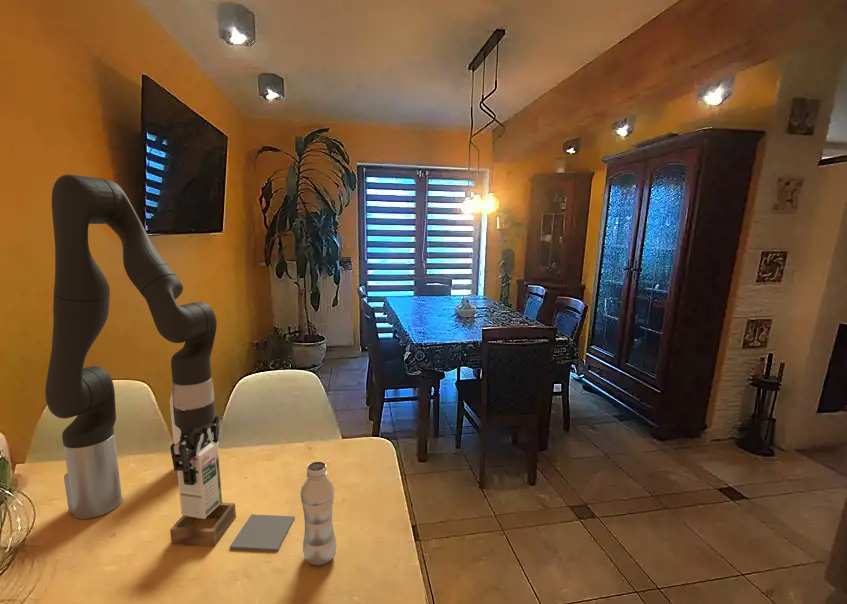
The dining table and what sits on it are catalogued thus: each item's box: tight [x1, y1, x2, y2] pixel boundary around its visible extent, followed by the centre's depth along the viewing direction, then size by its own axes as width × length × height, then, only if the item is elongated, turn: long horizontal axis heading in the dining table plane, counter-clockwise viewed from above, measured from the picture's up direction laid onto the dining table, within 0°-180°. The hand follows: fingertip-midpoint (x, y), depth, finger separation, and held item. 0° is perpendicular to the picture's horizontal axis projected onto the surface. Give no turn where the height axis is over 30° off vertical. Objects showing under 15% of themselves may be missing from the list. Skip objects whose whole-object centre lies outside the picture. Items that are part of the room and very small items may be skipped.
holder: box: [169, 502, 237, 548], centre depth 94 cm, size 9×9×4 cm
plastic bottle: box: [299, 460, 337, 566], centre depth 86 cm, size 6×7×20 cm
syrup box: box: [176, 442, 223, 520], centre depth 93 cm, size 6×6×14 cm
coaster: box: [229, 513, 296, 553], centre depth 94 cm, size 10×10×1 cm
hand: (199, 474), depth 92 cm, fingers closed on syrup box, 6 cm apart
